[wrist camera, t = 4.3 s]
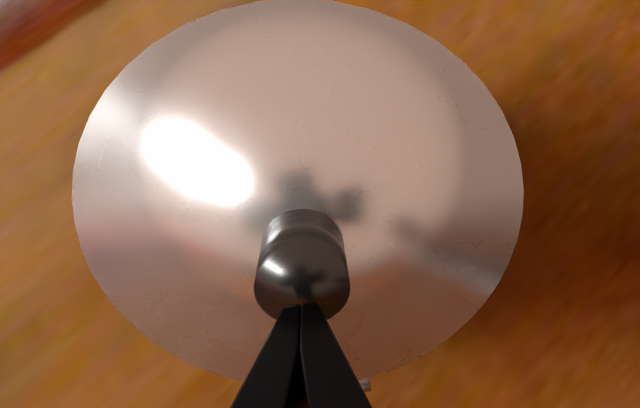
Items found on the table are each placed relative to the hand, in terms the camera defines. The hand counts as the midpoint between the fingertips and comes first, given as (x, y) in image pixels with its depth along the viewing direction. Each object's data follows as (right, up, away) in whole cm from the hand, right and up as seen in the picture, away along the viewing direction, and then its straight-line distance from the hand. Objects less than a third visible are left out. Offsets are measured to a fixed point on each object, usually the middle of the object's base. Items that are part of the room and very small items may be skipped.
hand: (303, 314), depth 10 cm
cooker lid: (0, +2, +3) cm, 3 cm away
